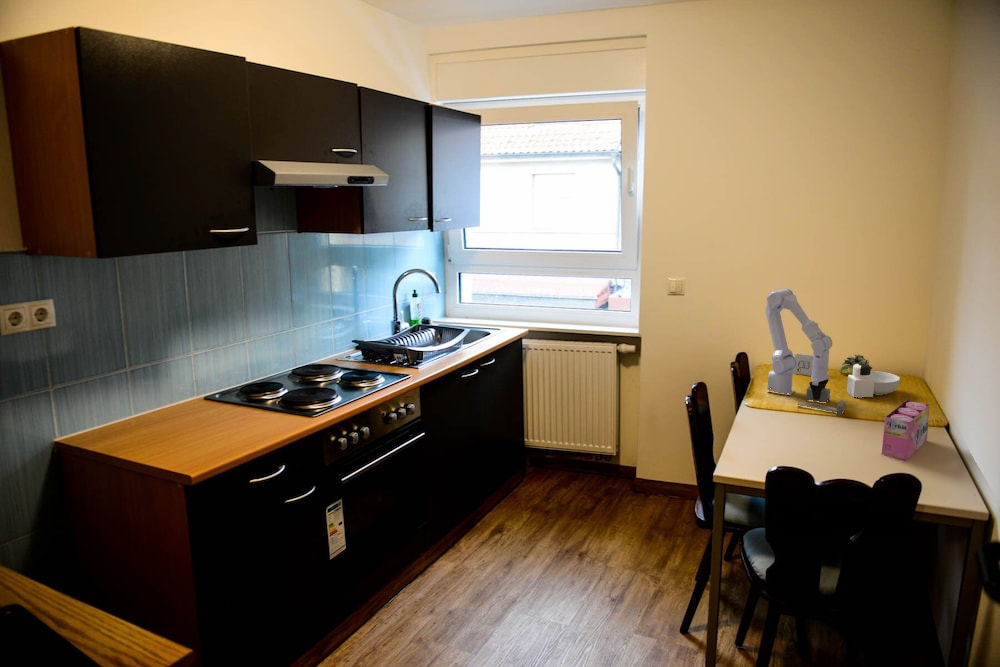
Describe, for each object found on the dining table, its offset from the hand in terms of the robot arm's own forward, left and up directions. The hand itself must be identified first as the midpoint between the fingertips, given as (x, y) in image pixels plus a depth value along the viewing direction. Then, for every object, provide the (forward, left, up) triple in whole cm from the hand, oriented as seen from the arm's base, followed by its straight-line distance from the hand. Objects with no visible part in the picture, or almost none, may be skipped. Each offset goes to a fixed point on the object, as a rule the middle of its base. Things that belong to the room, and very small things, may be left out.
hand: (817, 397), depth 292 cm
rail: (+2, -11, -1) cm, 11 cm away
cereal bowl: (+18, +23, -2) cm, 29 cm away
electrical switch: (-14, +36, -2) cm, 39 cm away
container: (+13, +16, -2) cm, 20 cm away
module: (0, 0, -1) cm, 1 cm away
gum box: (+36, -35, -2) cm, 50 cm away
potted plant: (+6, +45, -2) cm, 45 cm away
